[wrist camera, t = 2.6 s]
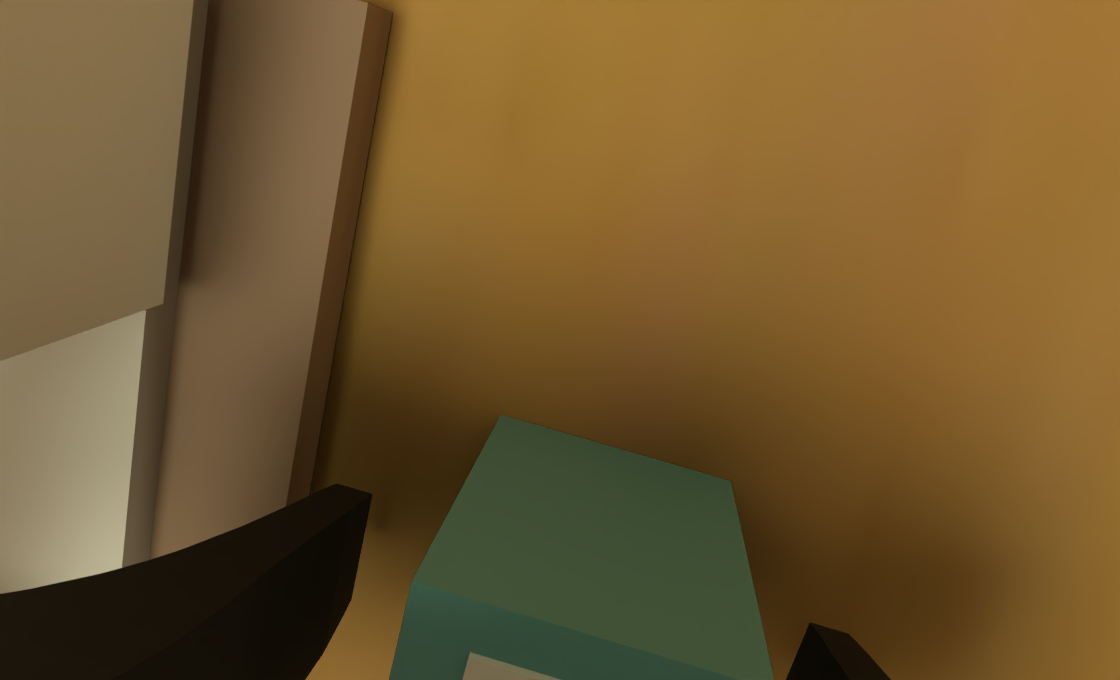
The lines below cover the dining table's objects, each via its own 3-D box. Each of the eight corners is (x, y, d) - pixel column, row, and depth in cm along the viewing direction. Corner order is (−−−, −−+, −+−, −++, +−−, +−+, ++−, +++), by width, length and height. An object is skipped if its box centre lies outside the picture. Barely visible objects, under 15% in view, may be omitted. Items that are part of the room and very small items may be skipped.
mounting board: (392, 13, 11) (346, -7, 10) (253, 815, 16) (206, 896, 14) (-103, -117, 12) (-230, -158, 10) (-99, 703, 16) (-185, 770, 15)
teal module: (730, 479, 13) (778, 698, 8) (653, 692, 14) (654, 993, 9) (501, 413, 13) (409, 586, 8) (447, 629, 14) (338, 891, 9)
